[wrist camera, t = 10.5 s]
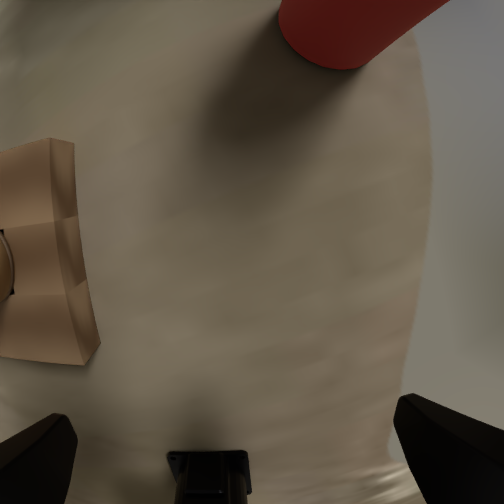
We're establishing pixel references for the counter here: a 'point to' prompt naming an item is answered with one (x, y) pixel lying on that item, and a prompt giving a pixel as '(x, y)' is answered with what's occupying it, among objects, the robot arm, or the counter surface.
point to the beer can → (349, 27)
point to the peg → (6, 268)
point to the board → (44, 257)
